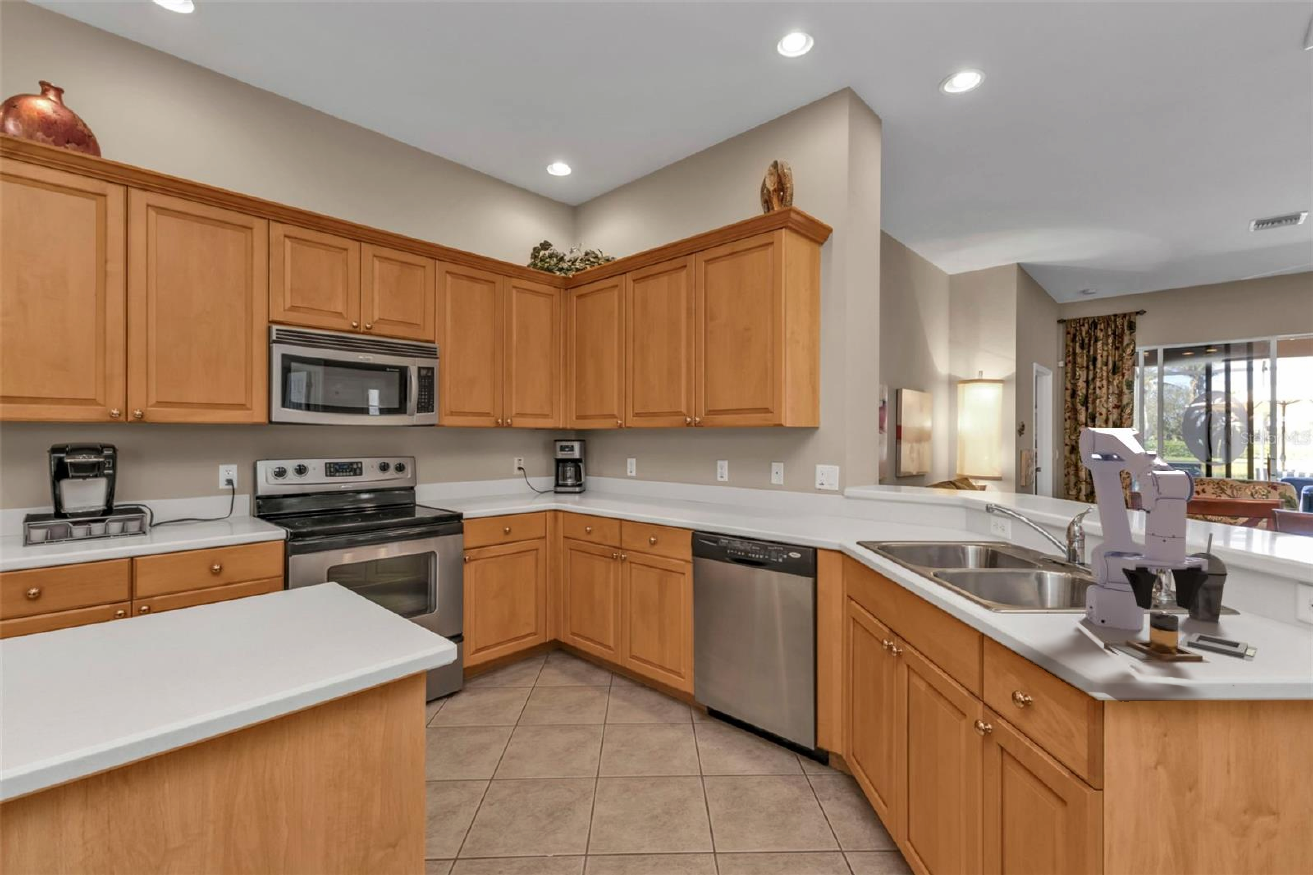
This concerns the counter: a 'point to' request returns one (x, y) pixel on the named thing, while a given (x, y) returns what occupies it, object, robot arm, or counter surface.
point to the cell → (1163, 632)
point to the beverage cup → (1209, 588)
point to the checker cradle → (1219, 646)
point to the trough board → (1153, 652)
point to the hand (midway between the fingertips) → (1163, 607)
